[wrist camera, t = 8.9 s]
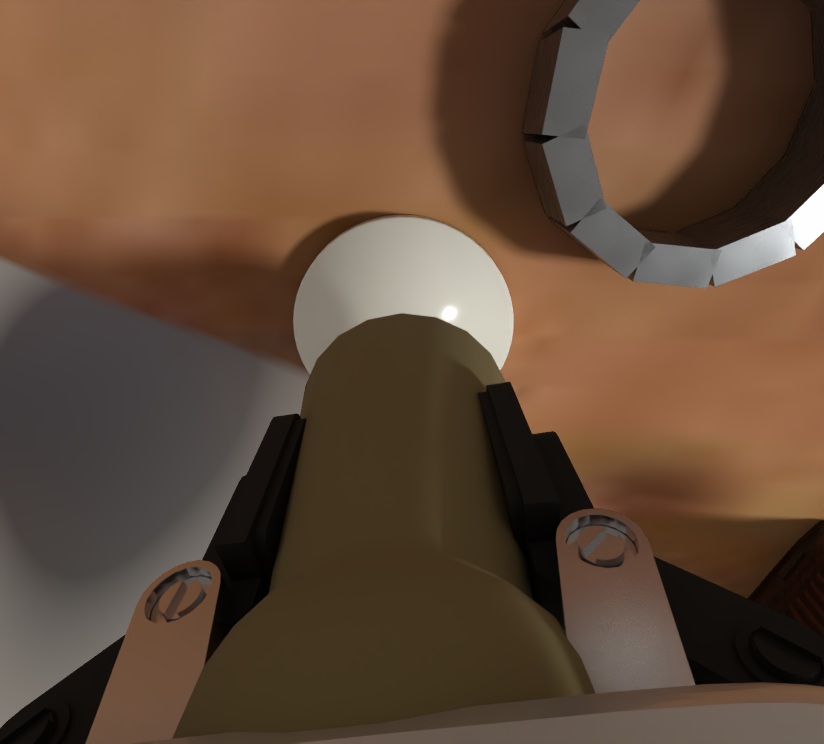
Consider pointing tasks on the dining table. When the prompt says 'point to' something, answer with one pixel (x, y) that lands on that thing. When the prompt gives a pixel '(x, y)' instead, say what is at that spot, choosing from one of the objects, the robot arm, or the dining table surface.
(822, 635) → the pepper mill
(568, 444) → the dining table surface
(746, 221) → the holder ring
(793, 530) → the dining table surface
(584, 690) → the cork
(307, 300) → the pebble
